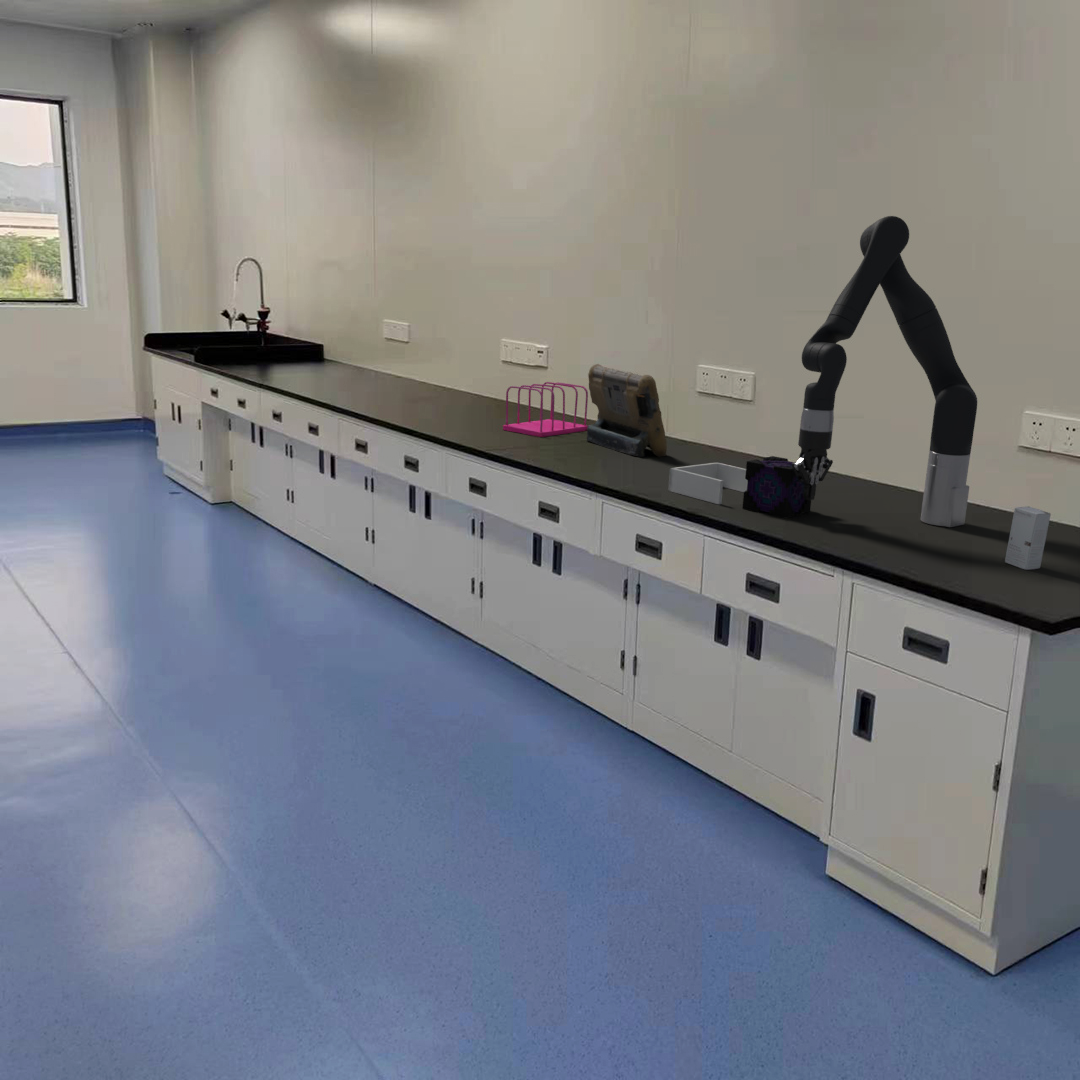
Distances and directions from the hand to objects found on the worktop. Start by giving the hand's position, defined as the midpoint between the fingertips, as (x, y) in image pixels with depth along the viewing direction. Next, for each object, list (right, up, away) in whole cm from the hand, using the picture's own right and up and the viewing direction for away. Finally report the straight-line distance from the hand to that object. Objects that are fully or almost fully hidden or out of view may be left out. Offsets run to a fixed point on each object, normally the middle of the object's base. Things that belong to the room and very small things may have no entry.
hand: (808, 499), depth 268 cm
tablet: (-38, +19, +85) cm, 95 cm away
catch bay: (-18, +2, +24) cm, 30 cm away
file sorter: (-62, +27, +113) cm, 132 cm away
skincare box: (+37, -15, -33) cm, 52 cm away
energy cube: (-6, -3, +9) cm, 11 cm away
